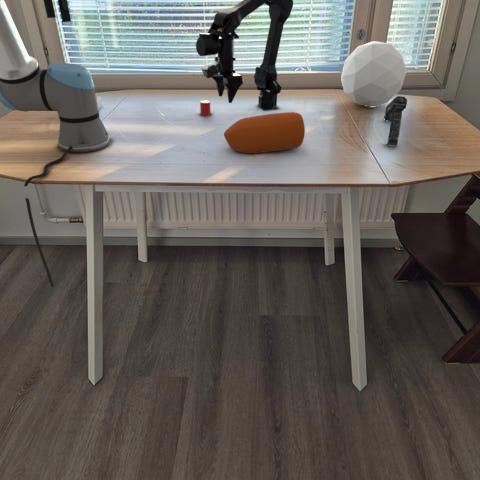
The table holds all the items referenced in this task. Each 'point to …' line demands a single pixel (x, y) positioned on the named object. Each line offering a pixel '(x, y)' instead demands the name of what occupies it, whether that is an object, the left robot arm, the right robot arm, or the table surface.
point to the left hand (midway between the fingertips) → (59, 19)
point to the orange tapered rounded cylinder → (266, 133)
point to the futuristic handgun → (395, 118)
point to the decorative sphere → (373, 74)
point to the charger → (98, 101)
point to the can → (205, 107)
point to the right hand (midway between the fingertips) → (225, 99)
